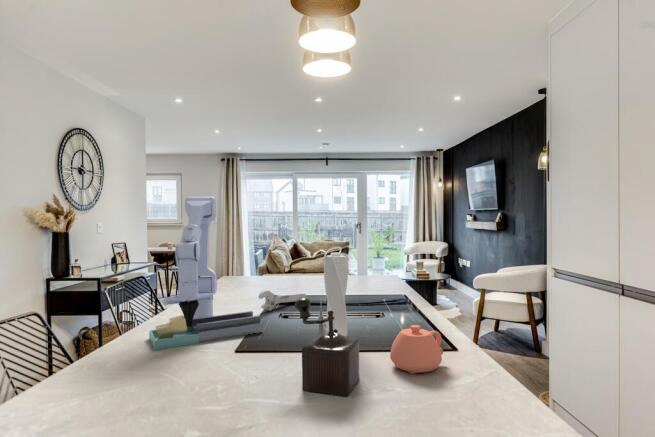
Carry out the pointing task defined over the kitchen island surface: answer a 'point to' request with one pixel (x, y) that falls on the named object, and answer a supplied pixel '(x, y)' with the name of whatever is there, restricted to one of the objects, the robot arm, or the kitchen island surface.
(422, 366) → the sugar bowl
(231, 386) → the kitchen island surface
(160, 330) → the chip
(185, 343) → the tray
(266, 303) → the wrench
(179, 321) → the wooden cube
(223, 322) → the slot block
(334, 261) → the skyscraper
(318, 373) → the brown manual coffee grinder
